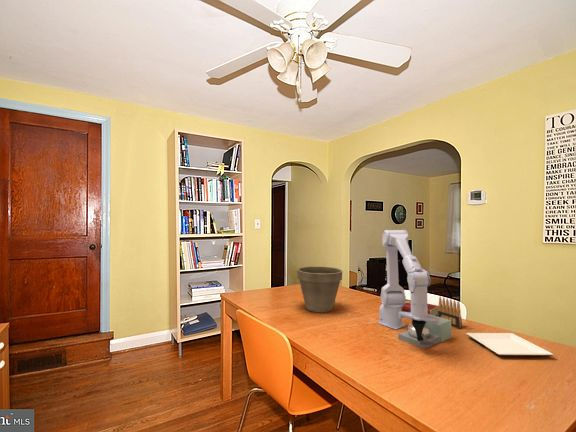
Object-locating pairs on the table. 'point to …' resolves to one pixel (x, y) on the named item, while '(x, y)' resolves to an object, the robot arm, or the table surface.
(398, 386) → the table surface
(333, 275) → the plant pot
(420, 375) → the table surface
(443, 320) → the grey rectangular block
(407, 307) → the hardcover book
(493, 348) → the plate
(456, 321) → the ammunition clip
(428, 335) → the grey t-handle
